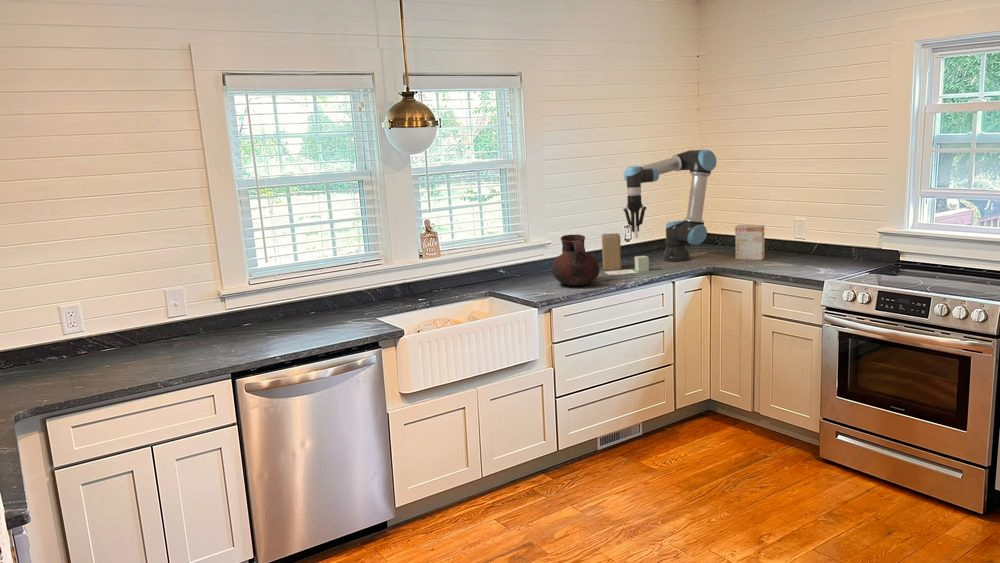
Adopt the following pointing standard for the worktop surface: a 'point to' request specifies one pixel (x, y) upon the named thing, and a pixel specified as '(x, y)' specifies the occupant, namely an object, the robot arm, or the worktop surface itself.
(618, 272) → the letter
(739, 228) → the coffeecake box
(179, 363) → the worktop surface
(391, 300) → the worktop surface
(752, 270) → the worktop surface
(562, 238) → the jug
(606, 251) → the wooden block
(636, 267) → the sage block
